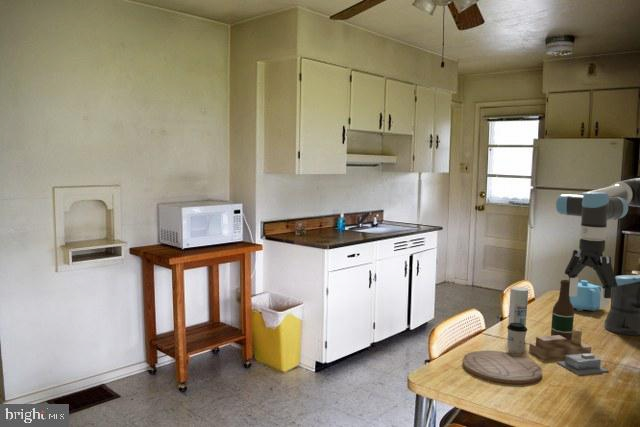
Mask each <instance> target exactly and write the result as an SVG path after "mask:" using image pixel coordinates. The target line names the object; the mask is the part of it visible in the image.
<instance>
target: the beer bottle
mask: <svg viewBox="0 0 640 427" xmlns="http://www.w3.org/2000/svg"><path fill="white" fill-rule="evenodd" d="M559 283H560V290H559V295H558V300H557V301H556V302H555V304H554V306H553V308H552V313H551V314H552V315H551V329H550V330H551V331H550V336H554V335H560V336H562V337H565V338H567V340H572V334H573V329H574V321H575V320H574V318H575V317H574V316H575V308H573V305H572V304H571V302H570V296H569V288H570V286H569V279H568V280H567V279H561V280H560V282H559Z"/></svg>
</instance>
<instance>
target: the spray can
mask: <svg viewBox="0 0 640 427" xmlns="http://www.w3.org/2000/svg"><path fill="white" fill-rule="evenodd" d="M509 291H510V292H509V293H510V294H509V306H508V308H509V310H508V311H509V312H508V325H510V323H521V324H523V325H524V326H525V327H526V328H527V326H526V324H527V314H528V312H527V311H528V300H529V289H528V288H527V287H524V286H523V287H522V286H511V287H510V290H509ZM508 325H507V326H508Z"/></svg>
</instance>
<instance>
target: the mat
mask: <svg viewBox="0 0 640 427" xmlns="http://www.w3.org/2000/svg"><path fill="white" fill-rule="evenodd" d="M556 363H557V364H558V365H559V366H561V367H563V368H565V369H567V370H569V371H571V372H572V373H574V374H576V375H578V376H583V375H592V374H600V373H601V374H602V373H608V372H609V370H608V369H606V368H604V367H603V366H601V365H600V368H599V369H590V370H580V371H578V370H576V369H574V368H572V367H570V366H568V365H566V364H565V360H563V361H561V360H560V361H557V362H556Z"/></svg>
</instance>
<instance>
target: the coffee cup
mask: <svg viewBox="0 0 640 427" xmlns="http://www.w3.org/2000/svg"><path fill="white" fill-rule="evenodd" d="M506 328H507V338H508V339H507V341H508V351H509V353H512V354H517V355H519V354H522V353H523V350H524V345H525V340H526V336H527V331H528V327H527V326H526V327H525V326H524V325H523V324H521V323H510V325H507V327H506Z"/></svg>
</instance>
